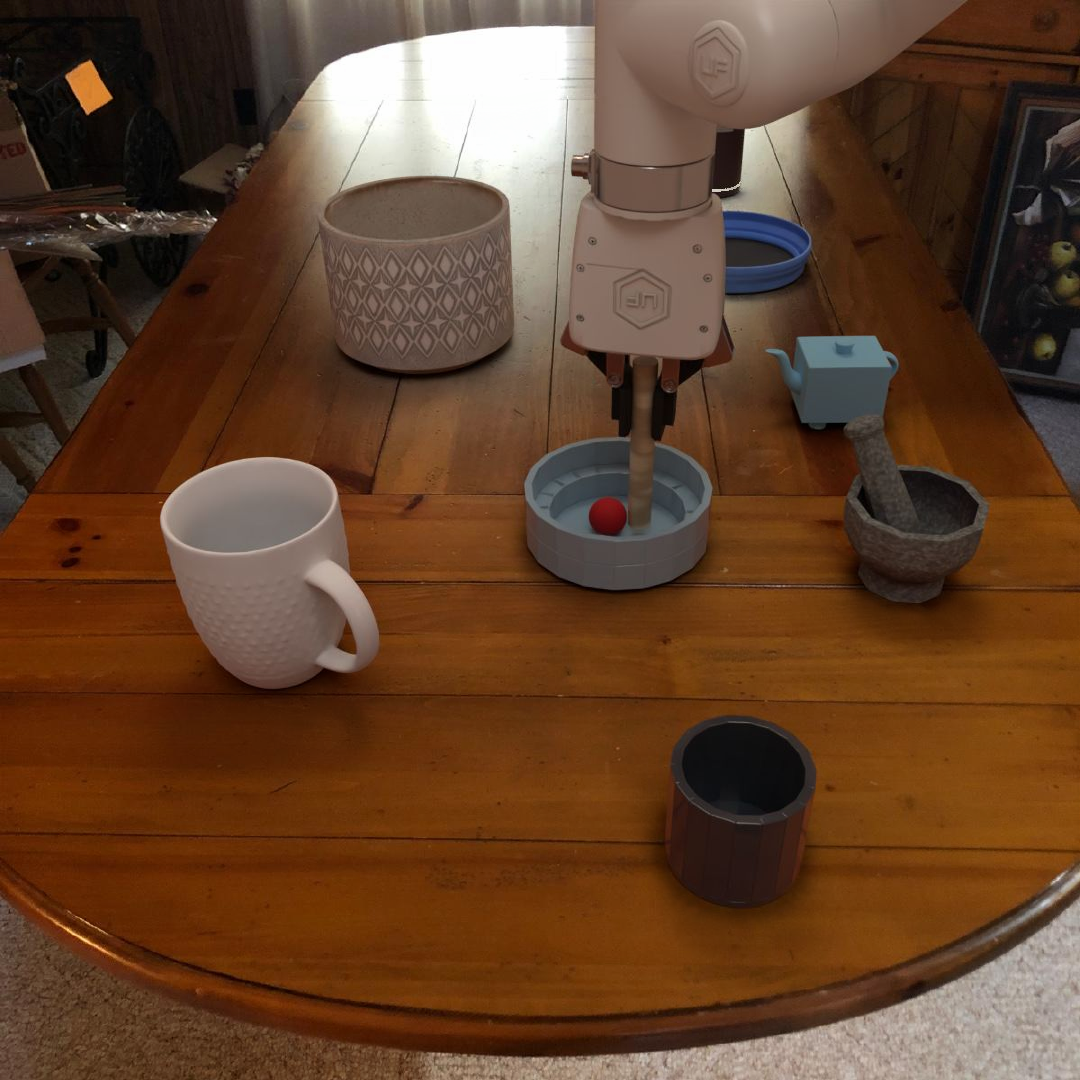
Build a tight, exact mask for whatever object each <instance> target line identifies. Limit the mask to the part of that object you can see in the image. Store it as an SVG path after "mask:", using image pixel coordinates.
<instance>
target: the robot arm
mask: <svg viewBox="0 0 1080 1080" xmlns="http://www.w3.org/2000/svg"><path fill="white" fill-rule="evenodd" d="M966 2H968V0H594V72H593V73H594V75H593V76H594V79H593V80H594V81H593V82H594V87H593V148H592V149H591V150H590V152H589V153H587V152H585V153H584V154H572V157H571V162H570V174H571V177H578V178H579V177H580V178H581V177H582V179H583V180H587V182H588V185H590V191H588V192H587V193H586V194H585V195H584V196H583V197H582V198H581V200H580V204H579V207H578V213H577V218H576V224H575V232H574V237H573V247H572V258H571V269H570V287H569V302H568V320H567V323H566V325H565V327H564V330H563V332H562V333H561V337H560V340H559V343H560V345H561V346H562V347H563V348H565V349H567V350H569V351H571V352H573V353H576V354H577V355H580V356H582V357H584V356H585V357H587V358H588V360H589V362H591V364H593V365H594V366H595V367H596V369H598V370H599V371H600V372H601V374H603V375H604V377H606V383H607V384H608V385H609V387H611V405H610V406H611V407H610V409H611V411H610V412H611V413H610V418H611V420H612V421H618V434H617V435H618V436H617V437H630V433H631V413H632V370H633V365H632V364H631V356H636V357H638V356H646V357H655V358H656V359H661V361H662V362H661V371H660V374H659V375H658V384H657V386H656V387H655V390H654V393H653V405H652V428H651V438H652V439H654V441H655V442H662V440H663V437H664V436H663V435H664V433H665V430H666V426H667V427H674V424H675V421H676V414H677V398H678V389H679V386H681V385H682V384H684V383H685V382H686V381H688V380H689V379H690V378H691V377H693V376H694V375H696V374H697V373H698V372H699V371H700V370H702V369H705V368H706V369H709V368H713V367H717V366H720V365H724V364H728V363H730V362H731V361H732V360H733V357H734V353H735V346H734V343H733V340H732V336H731V334H730V331H729V328H728V327H729V326H728V324H727V322H726V318H725V315H724V314H725V303H726V293H725V278H726V249H725V229H724V219H723V211H724V210H723V206H722V199H721V197H718V196H717V195H716V194H714V193H712V187H713V173H714V159H715V145H716V131H717V125H720V126H724V127H728V128H734V129H745V130H751V129H756V128H761V127H765V126H767V125H769V124H772V123H775V122H777V121H779V120H781V119H784V118H785V117H788V116H790V115H793V114H795V113H798V112H799V111H802V110H804V109H805V108H807V107H809V106H811V105H813V104H816V103H818V102H820V101H823V100H824V99H827V98H829V97H831V96H832V97H833V96H835V95H837V94H839V93H842V92H844V91H846V90H848V89H850V88H852V87H854V86H856V85H858V84H859V83H861V82H862V81H864V80H865V79H867V78H868V77H870V76H872V75H873V74H874V73H876V72H877V71H878V70H880V69H882V68H883V67H884V66H886V65H887V64H888V63H889V62H891V61H892V60H893V59H895V58H896V57H897V56H899V55H900V54H901V53H902V52H903V51H905V50H906V49H908V48H909V47H910V46H911V45H913V44H914V43H915V42H917V41H918V40H919V39H920V38H922V37H923V36H925V35H926V34H927V33H928V32H930V31H931V30H932V29H934V27H936V26H938V25H939V24H940V23H941V22H943V21H945V19H947V18H948V17H949V16H951V15H952V14H953V13H954V12H955V11H957V10H959V8H960V7H961V6H962V5H964V4H965V3H966Z"/></svg>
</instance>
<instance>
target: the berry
mask: <svg viewBox="0 0 1080 1080" xmlns="http://www.w3.org/2000/svg"><path fill="white" fill-rule="evenodd" d="M626 521H627V512H626V509H625V507H624V505H623V504H622V503H621V502H620V501H619V500H617V499H615V498H611V497H605V498H601V499H599V500H597V501H596V502H595V503H594V504H593V505H592V506H591V508H590V511H589V522H590V525H591V527H592V528H593V529H594V530H595V531H596V532H597V533H599V534H601V535H605V536H611V535H615V534H617V533H618V532H620V531H621V530H622V529H623V528H624V526H625V524H626Z"/></svg>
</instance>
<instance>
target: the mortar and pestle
mask: <svg viewBox="0 0 1080 1080" xmlns="http://www.w3.org/2000/svg"><path fill="white" fill-rule="evenodd" d="M884 427H885V420H884V417H883V418H882V416H880V415H877V414H868V415H863V416H860V417H857V418H855V419H853V420H851V421H850V422H846V425H845V426H844V427H843V434H844V436H845V437H846V438H847V439H848V440H849V441H850V443H851V446H852V447H851V448H852V450H853V451H852V452H853V455H854V458H855V462H856V465H857V466H856V467H857V470H858V473H859V474H857V475H855V477H854V479H853V480H852V483H851V486H850V487H849V490H848V492H847V494H846V496H845V502H844V508H843V530H844V533H845V535H846V538H847V539H848V542H849V543H850V545H851V547H852V549H853V550H854V552H855V553H856V555H857V556H858V557H859V559H860V560H861V562H860V564H859V567H858V571H857V576H858V577H859V578H860V580H861V582H862V583H863V584H864V586H865V587H866V590H868V591H869V592H871V593H873V594H875V595H877V596H880V597H882V598H884V599H886V600H888V601H890V602H893V603H909V604H922V603H924V602H926V601H929V600H931V599H933V598H936V597H938V596H940V595H941V592H942V589H943V586H944V583H945V579H946V577H947V576H949V575H953V574H955V573H957V572H959V571H961V569H962V568H964V567H965V566H966V565H967V564H969V563H970V562H971V561H972V559H973V557H974V555H975V553H976V552H977V550H978V548H979V546H980V543H981V540H982V536H983V532H984V528H985V525H986V521H987V517H988V513H989V509H990V503H989V502H988V501H987V500H986V499H985V498H984V496H982V495H981V493H980V492H979V491H978V490H977V489H976V488H975V487H974V486H973V484H971V482H970V481H968V480H966V479H963V478H962V477H961V478H960V477H958V476H956V475H953V474H950V473H948V472H945V471H943V470H940V469H937V468H935V467H932V466H929V465H928V466H926V465H905V464H897V462H896V459H895V457H894V454H893V452H892V450H891V447H890V445H889V442H888V440H887V436H886V435H885V432H884Z"/></svg>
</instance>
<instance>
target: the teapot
mask: <svg viewBox="0 0 1080 1080" xmlns="http://www.w3.org/2000/svg"><path fill="white" fill-rule="evenodd" d="M764 351H765V352H766V353H767V354H770V355H771V356H773V357H774V358H776V360H777V361H778V364H779V366H780V371H781V376H782V379H783V382H784V384H785V386H786V387H787V388H788V390H790V394H791V397H792V399H793V402H794V405H795V408H796V410H797V414H798V417H799V420H800V422H801V424H808V427H810V428H811V429H815V430H823V429H825V428H826V426H827V424H829V423H832V424H833V423H834V424H835V423H837V424H838V423H841V424H842V423H848V422H850V421H851V420H853V419H855V418H857V417H860V416H863V415H868V414H877V415H880V416H882V418H883V419H884V414H885V413H884V412H885V406H886V402H887V397H888V392H889V386H890V382H891V380H892V378H894V376H895V375H896V374H897V372H898V370H899V361H898V358H897V356H896V355H894V354H893V353H892V352H890V351H887V350H883V347H882V346H881V344H880V342H879V340H878V338H877V336H876V335H831V336H829V335H827V336H826V335H825V336H822V335H821V336H817V335H816V336H798V337H796V343H795V349H794V358H793V364H791V360H790V357H789V355H788V354H787V353H786V352H785V351H784V350H782V349H778V348H768V349H765V350H764ZM889 361H891V363H890V362H889ZM792 365H793V367H792Z"/></svg>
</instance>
